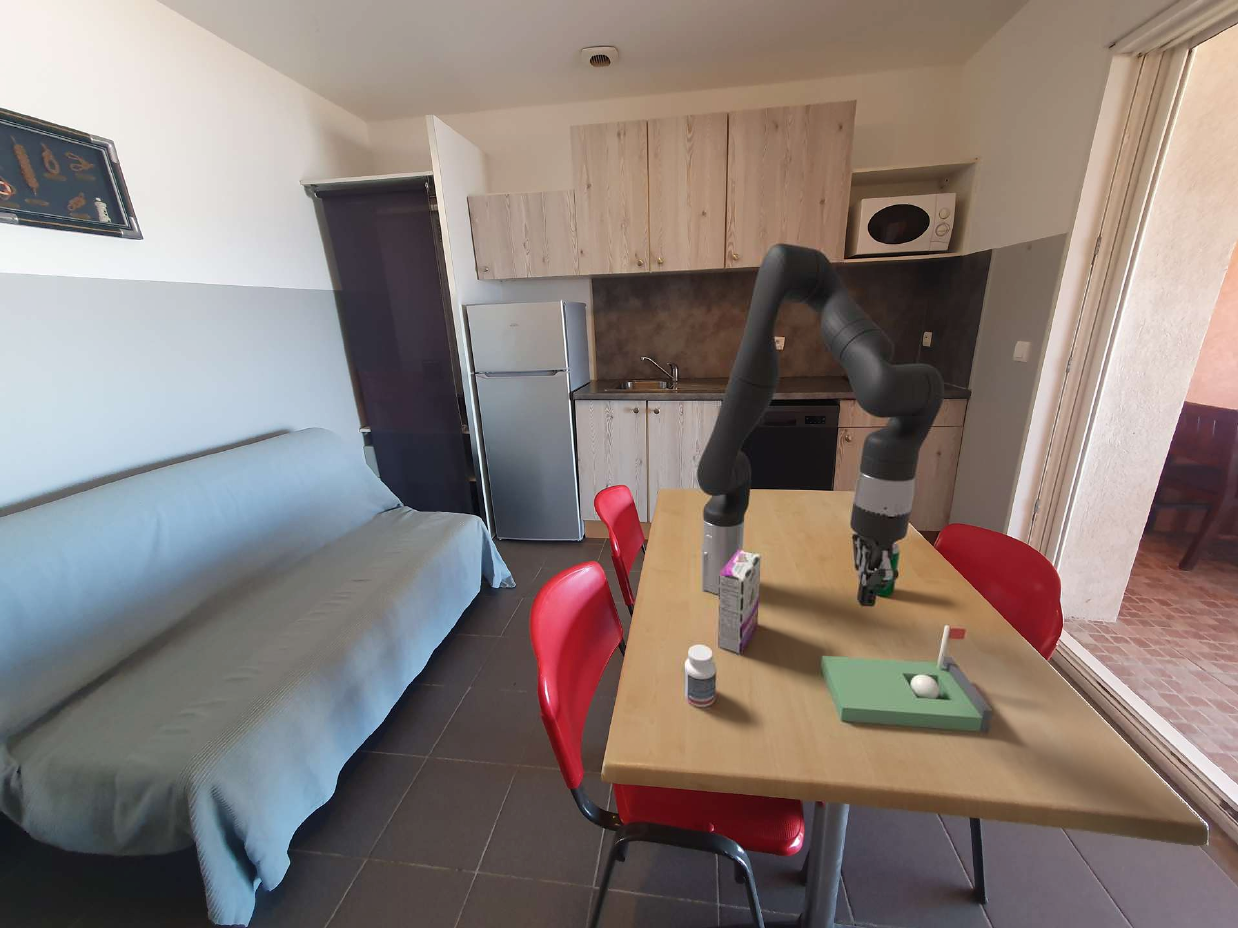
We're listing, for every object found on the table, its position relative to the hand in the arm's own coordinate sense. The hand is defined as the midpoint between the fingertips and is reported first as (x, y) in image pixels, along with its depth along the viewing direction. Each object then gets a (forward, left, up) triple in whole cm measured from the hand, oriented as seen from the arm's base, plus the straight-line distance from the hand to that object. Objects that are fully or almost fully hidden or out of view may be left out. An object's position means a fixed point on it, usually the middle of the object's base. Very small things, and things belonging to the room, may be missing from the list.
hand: (865, 603), depth 75 cm
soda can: (+16, +33, -18) cm, 41 cm away
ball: (+11, 0, -15) cm, 19 cm away
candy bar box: (-18, +14, -18) cm, 29 cm away
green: (+6, 0, -18) cm, 19 cm away
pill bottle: (-26, -3, -18) cm, 31 cm away
